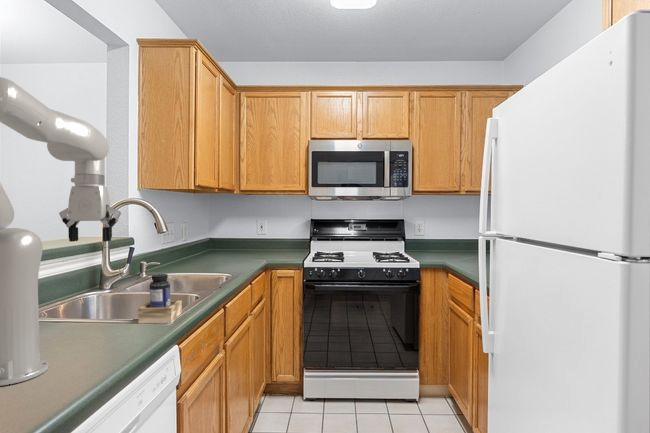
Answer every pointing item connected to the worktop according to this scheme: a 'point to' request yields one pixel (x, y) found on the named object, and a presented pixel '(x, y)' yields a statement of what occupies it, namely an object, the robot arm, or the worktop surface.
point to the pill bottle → (160, 291)
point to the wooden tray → (159, 313)
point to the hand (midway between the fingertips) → (90, 241)
